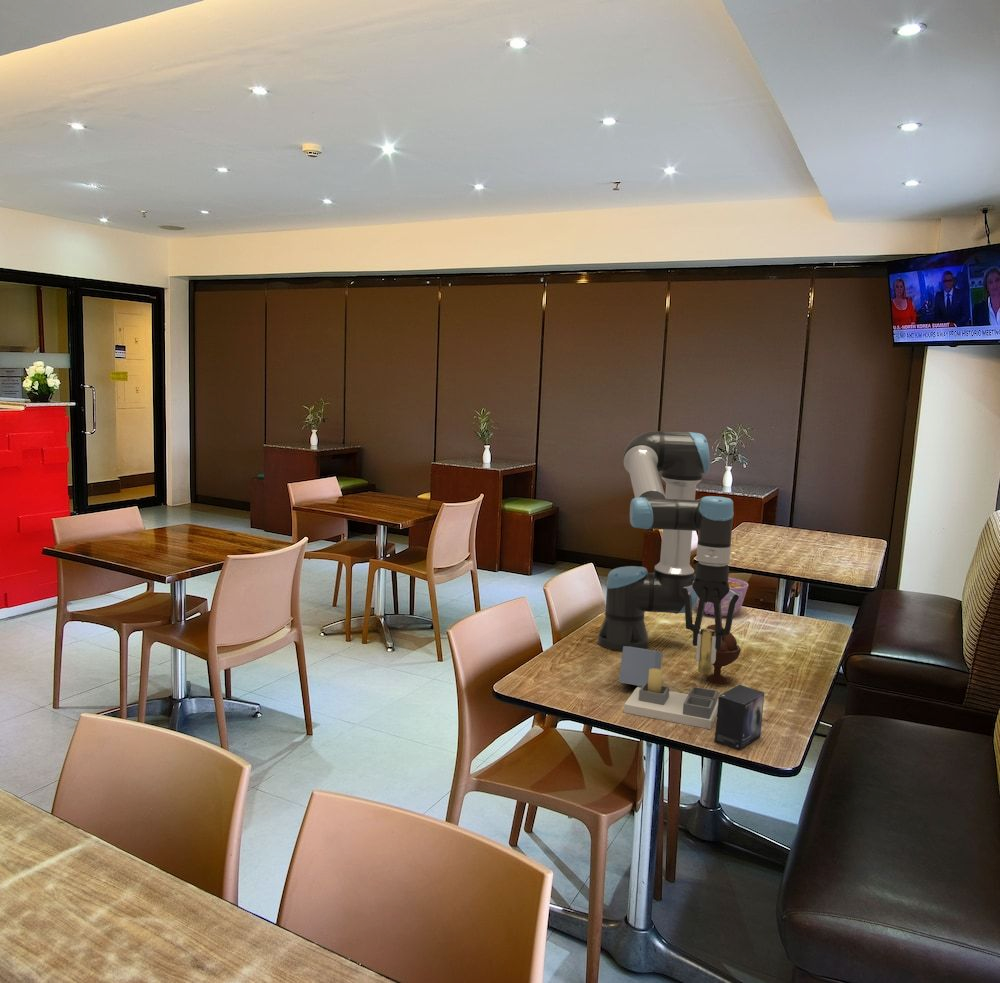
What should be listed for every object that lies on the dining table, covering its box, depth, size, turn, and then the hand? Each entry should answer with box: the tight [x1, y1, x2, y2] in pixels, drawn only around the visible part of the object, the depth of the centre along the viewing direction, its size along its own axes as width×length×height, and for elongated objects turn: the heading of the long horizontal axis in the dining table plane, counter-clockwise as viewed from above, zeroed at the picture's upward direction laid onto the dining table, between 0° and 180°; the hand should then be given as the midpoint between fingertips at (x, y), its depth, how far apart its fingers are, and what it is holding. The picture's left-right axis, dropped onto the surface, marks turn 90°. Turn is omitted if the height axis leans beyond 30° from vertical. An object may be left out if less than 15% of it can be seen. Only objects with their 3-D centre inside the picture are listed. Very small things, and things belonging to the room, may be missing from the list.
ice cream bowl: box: [705, 624, 742, 685], centre depth 208 cm, size 11×11×15 cm
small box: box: [713, 684, 765, 750], centre depth 172 cm, size 11×6×10 cm, turn 138°
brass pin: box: [697, 628, 715, 675], centre depth 186 cm, size 3×3×10 cm
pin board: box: [623, 668, 719, 730], centre depth 187 cm, size 20×14×9 cm
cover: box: [618, 646, 663, 686], centre depth 201 cm, size 8×8×9 cm
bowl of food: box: [695, 576, 749, 618], centre depth 277 cm, size 20×20×12 cm
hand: (705, 660), depth 186 cm, fingers closed on brass pin, 3 cm apart
